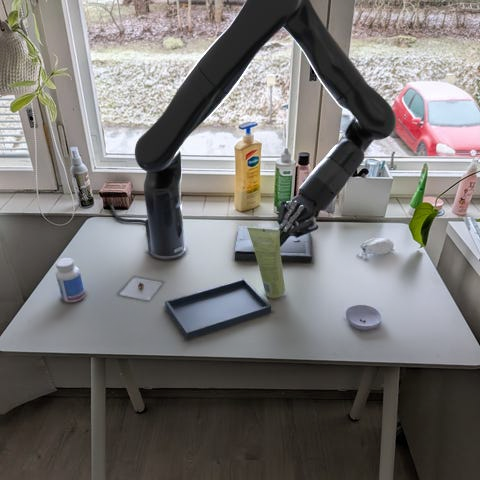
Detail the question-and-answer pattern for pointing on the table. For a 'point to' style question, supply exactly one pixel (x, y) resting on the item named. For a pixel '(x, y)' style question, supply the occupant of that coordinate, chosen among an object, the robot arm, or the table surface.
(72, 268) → the pill bottle
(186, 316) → the tray
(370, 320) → the small lavender dish
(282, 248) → the picture frame
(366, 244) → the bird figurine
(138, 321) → the table surface
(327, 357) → the table surface
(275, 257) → the tube
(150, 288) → the square paper sheet
